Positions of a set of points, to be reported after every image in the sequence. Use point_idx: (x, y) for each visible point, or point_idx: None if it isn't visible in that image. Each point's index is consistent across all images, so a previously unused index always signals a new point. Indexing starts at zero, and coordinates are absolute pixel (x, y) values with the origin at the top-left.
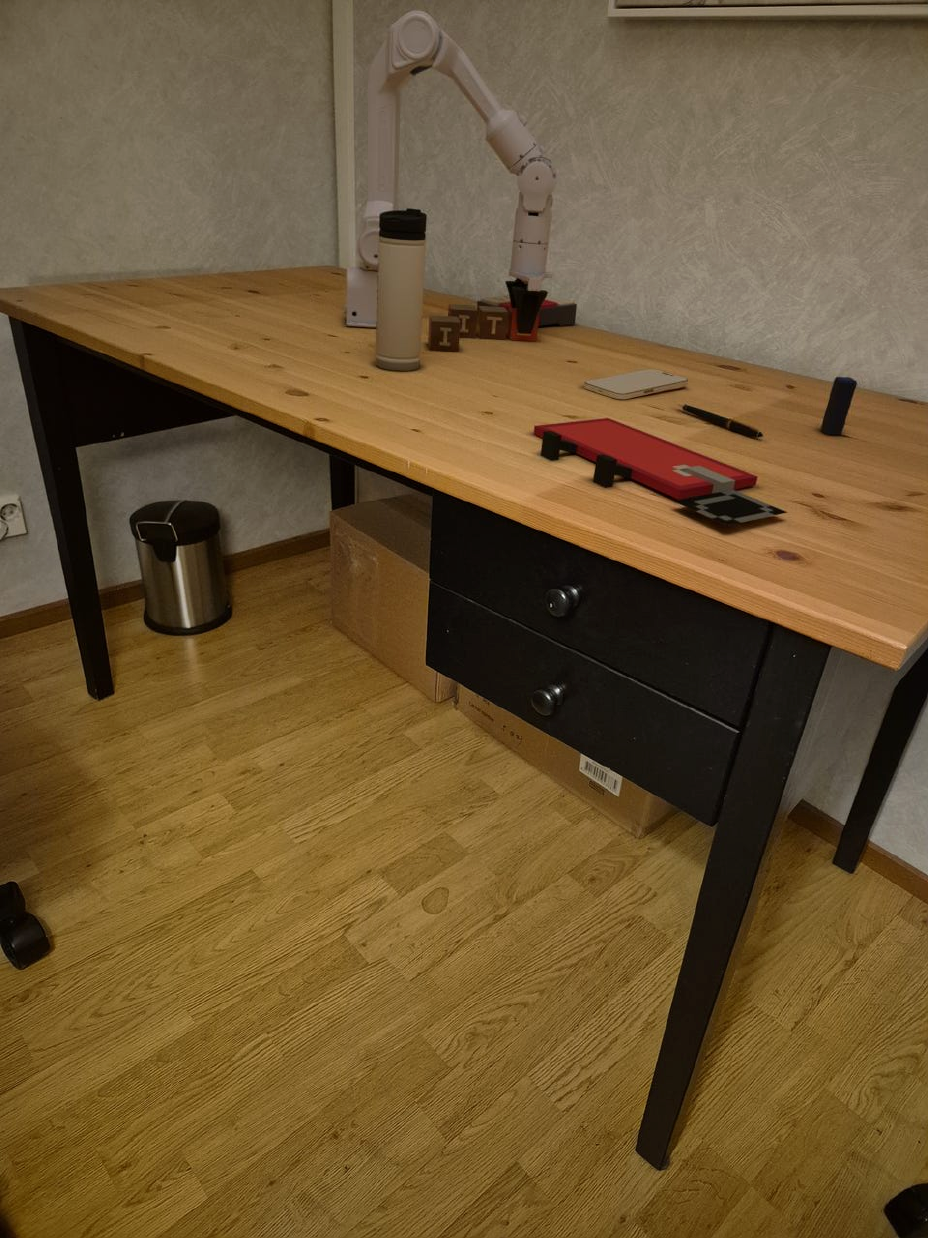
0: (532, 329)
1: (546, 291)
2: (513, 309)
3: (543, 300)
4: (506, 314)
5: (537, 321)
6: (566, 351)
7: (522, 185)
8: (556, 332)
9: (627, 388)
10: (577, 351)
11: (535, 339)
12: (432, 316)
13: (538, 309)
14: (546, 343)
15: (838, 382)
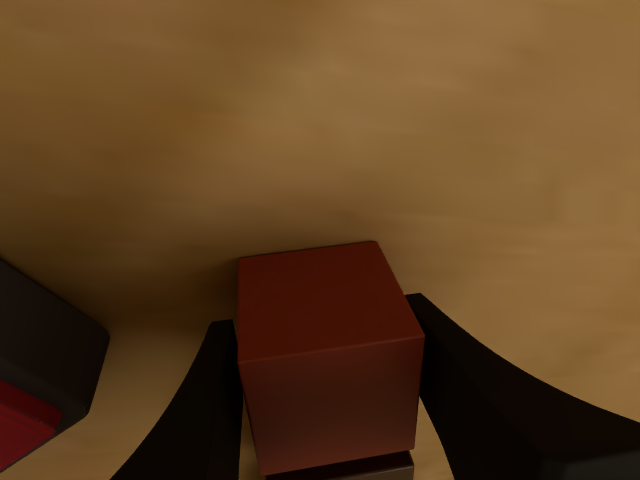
0: (431, 302)
1: (623, 461)
2: (320, 454)
3: (599, 408)
4: (410, 458)
5: (410, 307)
6: (593, 100)
7: None
8: (23, 95)
9: None
10: (597, 28)
11: (380, 249)
12: None
13: (522, 372)
14: (411, 191)
15: None
